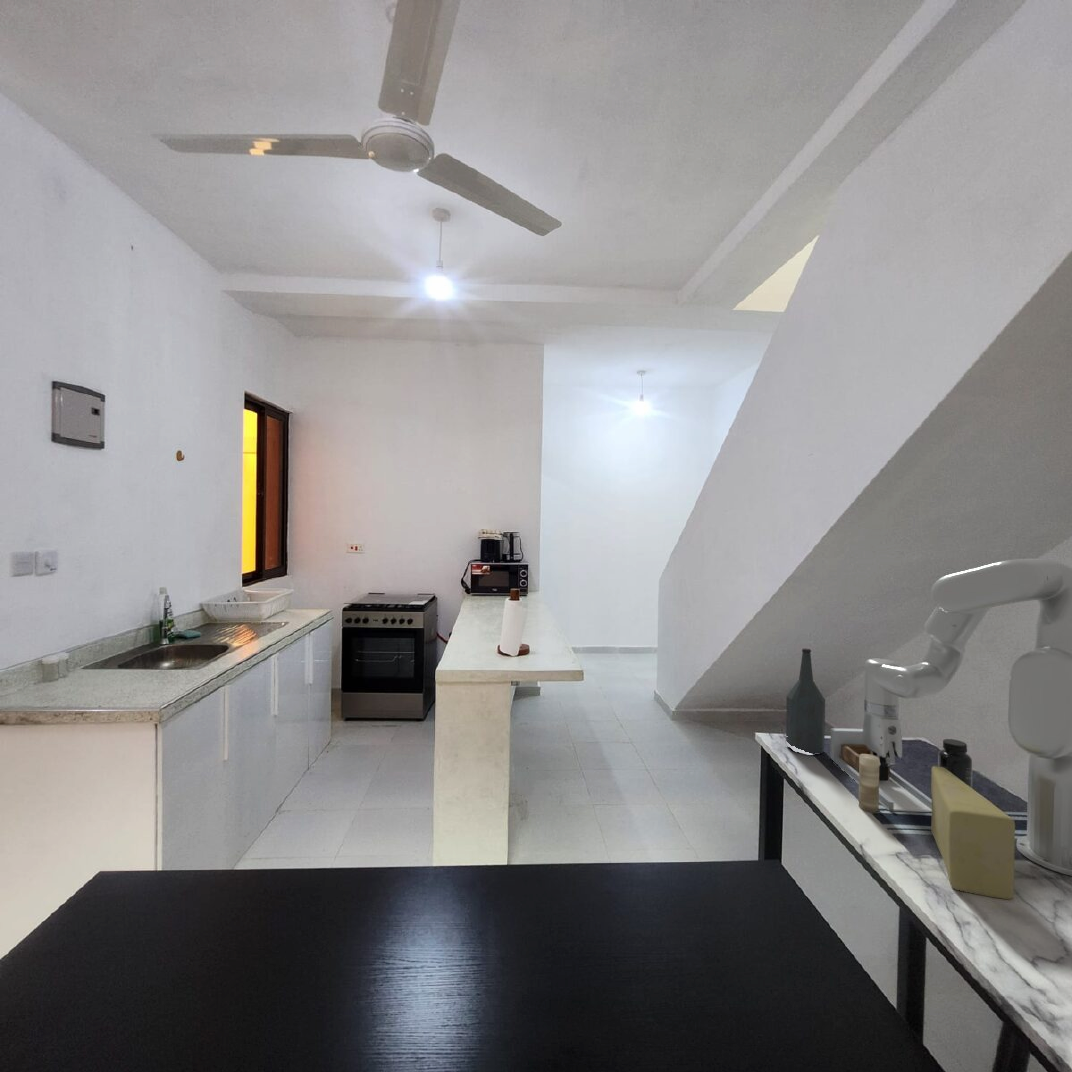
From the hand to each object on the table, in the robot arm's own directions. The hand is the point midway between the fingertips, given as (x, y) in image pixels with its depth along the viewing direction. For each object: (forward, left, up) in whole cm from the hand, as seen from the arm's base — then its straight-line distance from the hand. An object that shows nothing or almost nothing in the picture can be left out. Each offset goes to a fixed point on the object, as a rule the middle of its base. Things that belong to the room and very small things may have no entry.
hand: (879, 779), depth 139 cm
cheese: (-32, +3, -2) cm, 32 cm away
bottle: (+22, +9, -2) cm, 24 cm away
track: (+1, 0, -1) cm, 2 cm away
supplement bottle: (-1, -18, -2) cm, 18 cm away
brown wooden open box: (+7, 0, -1) cm, 7 cm away
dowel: (-12, +9, -1) cm, 16 cm away
